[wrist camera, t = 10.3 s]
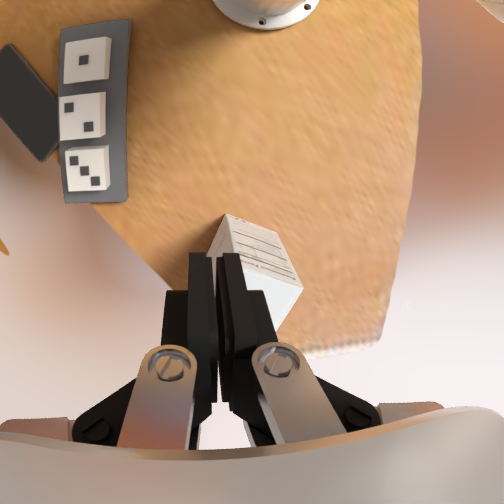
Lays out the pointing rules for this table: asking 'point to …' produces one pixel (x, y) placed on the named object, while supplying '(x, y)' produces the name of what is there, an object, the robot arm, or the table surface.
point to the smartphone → (27, 105)
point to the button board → (113, 108)
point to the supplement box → (259, 263)
